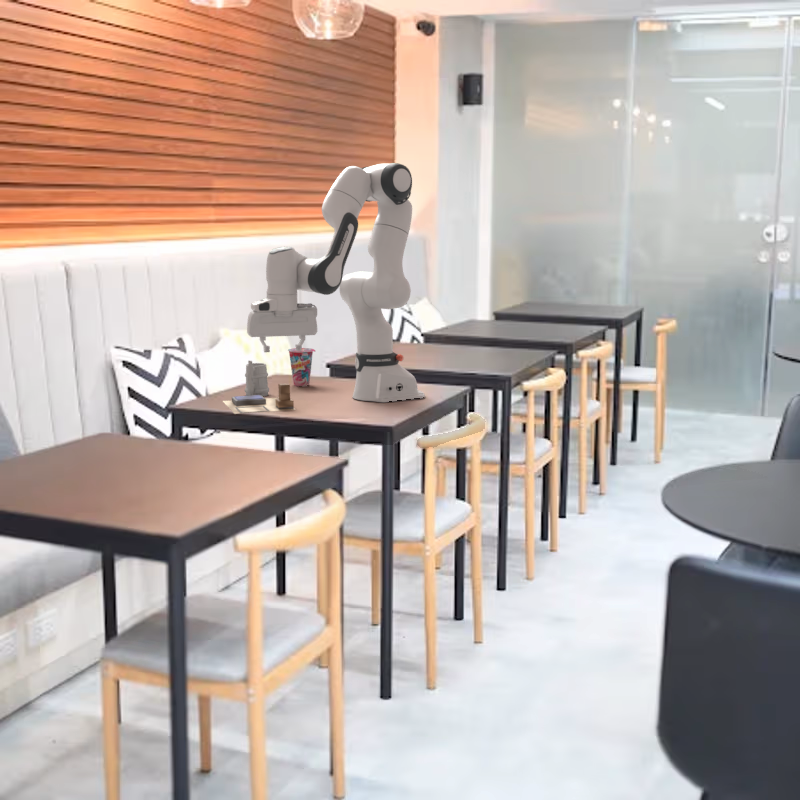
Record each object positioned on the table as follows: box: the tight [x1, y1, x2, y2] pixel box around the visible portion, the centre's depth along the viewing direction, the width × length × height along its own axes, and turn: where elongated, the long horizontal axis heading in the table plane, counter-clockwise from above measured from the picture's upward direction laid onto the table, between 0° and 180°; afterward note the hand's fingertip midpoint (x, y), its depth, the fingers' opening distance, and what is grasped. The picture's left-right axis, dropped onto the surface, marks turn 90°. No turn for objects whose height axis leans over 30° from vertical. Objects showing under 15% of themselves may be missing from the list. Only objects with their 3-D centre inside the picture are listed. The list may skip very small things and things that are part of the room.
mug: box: [244, 360, 270, 397], centre depth 349 cm, size 8×12×12 cm, turn 170°
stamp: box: [276, 382, 295, 410], centre depth 325 cm, size 4×4×7 cm
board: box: [222, 395, 297, 415], centre depth 330 cm, size 18×21×3 cm
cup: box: [287, 347, 316, 387], centre depth 369 cm, size 9×8×12 cm
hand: (282, 351), depth 323 cm, fingers open, 8 cm apart
